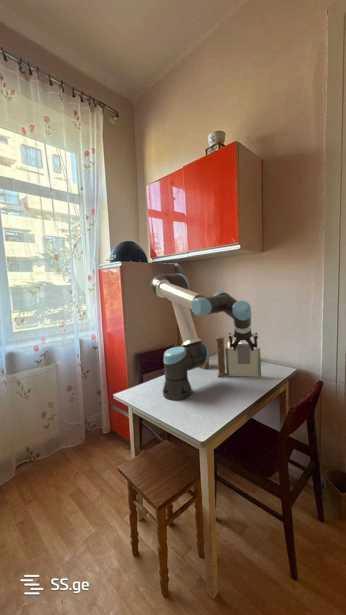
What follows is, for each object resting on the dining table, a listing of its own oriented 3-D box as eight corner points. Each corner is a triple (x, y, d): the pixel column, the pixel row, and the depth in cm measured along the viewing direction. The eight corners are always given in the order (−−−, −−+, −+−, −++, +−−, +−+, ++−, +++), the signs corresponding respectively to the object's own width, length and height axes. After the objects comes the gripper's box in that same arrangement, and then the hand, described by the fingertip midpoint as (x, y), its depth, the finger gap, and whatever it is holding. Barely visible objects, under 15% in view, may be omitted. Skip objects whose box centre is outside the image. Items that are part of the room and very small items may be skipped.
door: (226, 375, 146) (225, 348, 145) (226, 374, 148) (225, 348, 146) (261, 375, 142) (260, 348, 140) (260, 374, 143) (259, 348, 142)
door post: (217, 377, 146) (215, 338, 144) (218, 374, 151) (216, 336, 149) (226, 377, 145) (224, 338, 143) (226, 374, 150) (224, 336, 147)
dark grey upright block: (237, 363, 126) (237, 346, 125) (238, 360, 132) (237, 343, 131) (250, 364, 124) (249, 346, 123) (249, 360, 130) (249, 343, 129)
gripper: (221, 334, 114) (225, 358, 131) (265, 334, 109) (263, 359, 126) (221, 321, 119) (225, 346, 136) (263, 320, 114) (262, 346, 131)
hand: (243, 352), depth 131 cm, fingers closed on dark grey upright block, 6 cm apart
